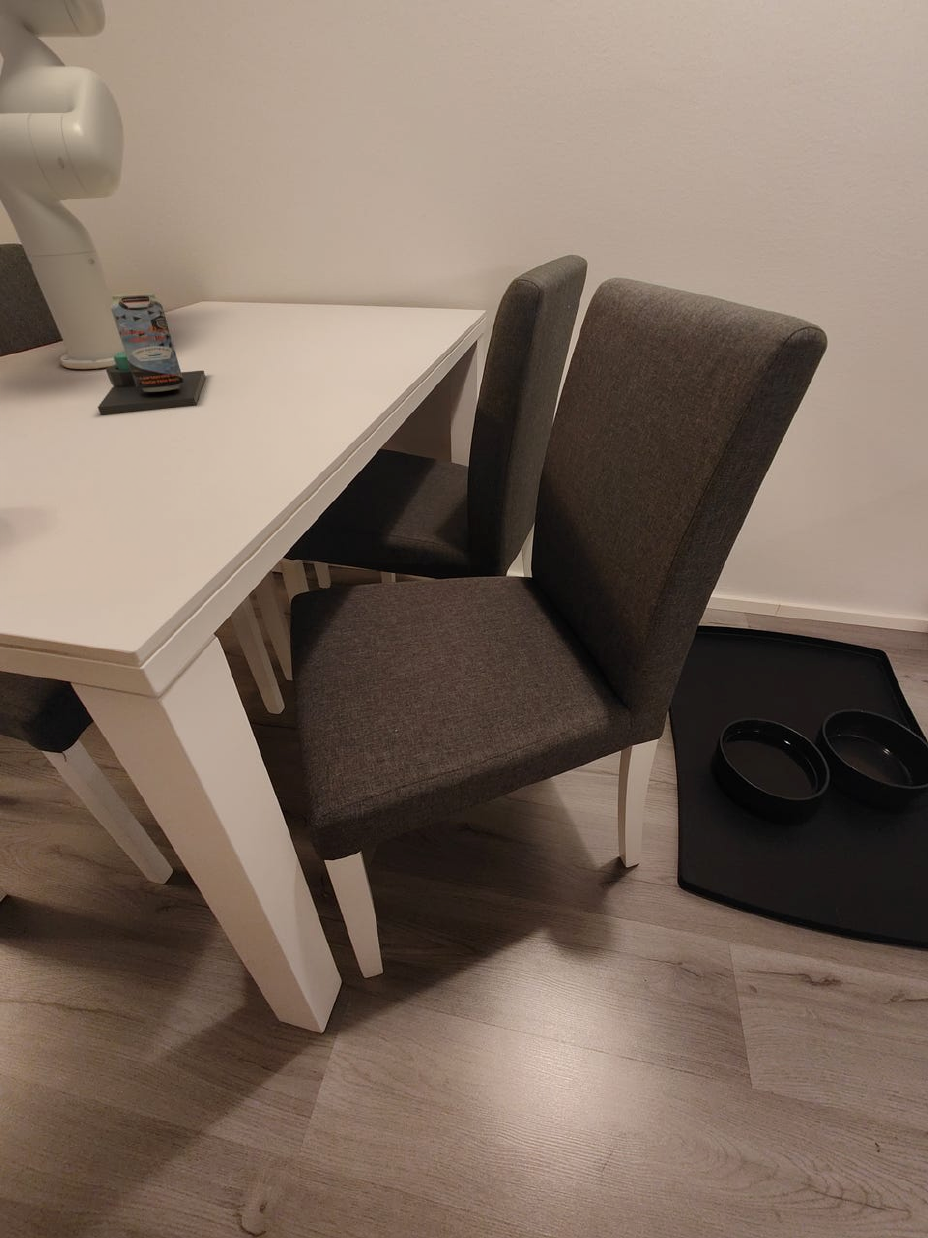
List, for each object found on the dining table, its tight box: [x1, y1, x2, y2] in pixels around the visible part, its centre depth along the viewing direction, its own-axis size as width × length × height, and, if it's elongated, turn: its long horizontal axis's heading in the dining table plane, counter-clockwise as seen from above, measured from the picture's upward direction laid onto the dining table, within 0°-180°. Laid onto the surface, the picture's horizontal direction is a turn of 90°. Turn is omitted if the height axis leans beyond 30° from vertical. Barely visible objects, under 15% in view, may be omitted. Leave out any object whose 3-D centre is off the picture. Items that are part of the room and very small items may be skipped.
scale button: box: [113, 352, 130, 370], centre depth 82 cm, size 3×3×2 cm
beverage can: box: [111, 293, 183, 392], centre depth 76 cm, size 6×7×12 cm
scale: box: [97, 365, 206, 416], centre depth 80 cm, size 14×12×3 cm
